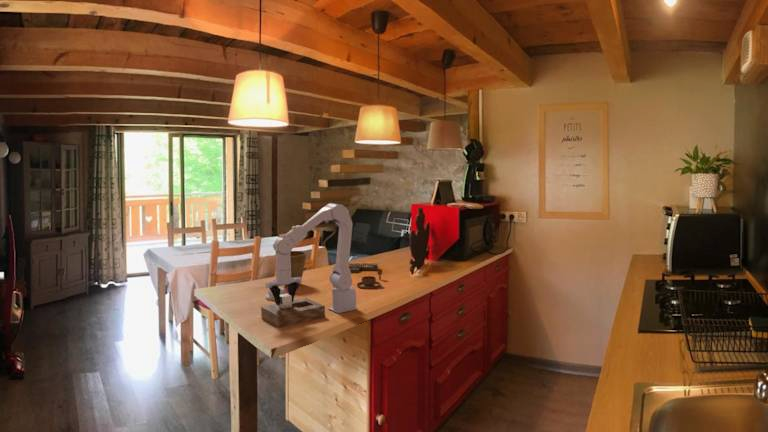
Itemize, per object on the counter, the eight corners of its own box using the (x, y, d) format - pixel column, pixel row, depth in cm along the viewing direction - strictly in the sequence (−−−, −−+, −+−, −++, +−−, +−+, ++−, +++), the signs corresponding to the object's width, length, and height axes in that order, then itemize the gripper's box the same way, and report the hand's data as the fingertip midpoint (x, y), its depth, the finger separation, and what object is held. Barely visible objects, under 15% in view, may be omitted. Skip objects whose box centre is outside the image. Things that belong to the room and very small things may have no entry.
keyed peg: (288, 313, 190) (287, 293, 190) (294, 316, 186) (293, 295, 186) (276, 316, 187) (275, 295, 186) (282, 319, 183) (281, 297, 183)
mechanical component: (281, 294, 225) (261, 298, 219) (280, 284, 225) (261, 288, 218) (292, 298, 218) (272, 302, 211) (292, 288, 217) (272, 292, 211)
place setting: (348, 285, 241) (348, 274, 240) (379, 279, 253) (379, 268, 253) (369, 292, 227) (369, 280, 227) (401, 285, 240) (401, 274, 239)
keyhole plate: (306, 308, 201) (306, 297, 201) (325, 316, 190) (324, 305, 189) (261, 317, 189) (261, 306, 189) (278, 327, 177) (277, 315, 177)
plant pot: (283, 280, 250) (282, 250, 249) (310, 281, 248) (309, 251, 246) (272, 287, 236) (271, 255, 234) (301, 288, 233) (300, 256, 232)
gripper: (295, 264, 193) (296, 297, 194) (261, 269, 184) (262, 304, 185) (303, 267, 187) (304, 301, 189) (269, 273, 178) (270, 308, 180)
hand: (284, 303), depth 187 cm, fingers open, 5 cm apart
